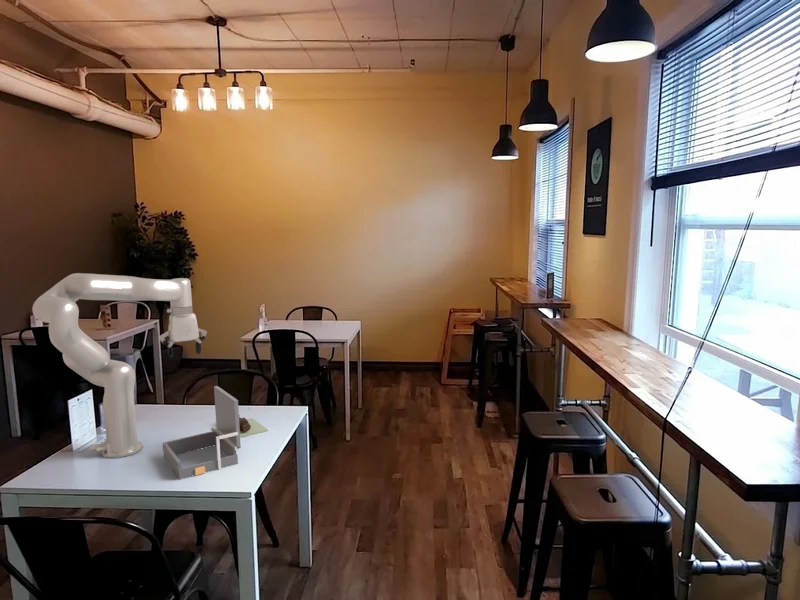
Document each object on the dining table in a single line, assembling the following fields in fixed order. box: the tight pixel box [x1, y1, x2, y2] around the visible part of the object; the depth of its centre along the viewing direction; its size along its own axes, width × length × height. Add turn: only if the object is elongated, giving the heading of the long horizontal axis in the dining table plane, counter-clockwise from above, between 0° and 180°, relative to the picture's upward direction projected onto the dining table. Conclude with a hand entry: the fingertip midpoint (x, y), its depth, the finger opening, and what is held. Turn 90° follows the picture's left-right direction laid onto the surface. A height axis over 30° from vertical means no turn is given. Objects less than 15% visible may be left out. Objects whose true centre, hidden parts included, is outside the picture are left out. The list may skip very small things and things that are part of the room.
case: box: [162, 385, 242, 480], centre depth 175 cm, size 19×22×21 cm
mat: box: [211, 417, 269, 438], centre depth 203 cm, size 16×16×1 cm
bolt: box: [239, 414, 251, 432], centre depth 203 cm, size 6×5×15 cm
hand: (185, 355), depth 204 cm, fingers open, 9 cm apart
